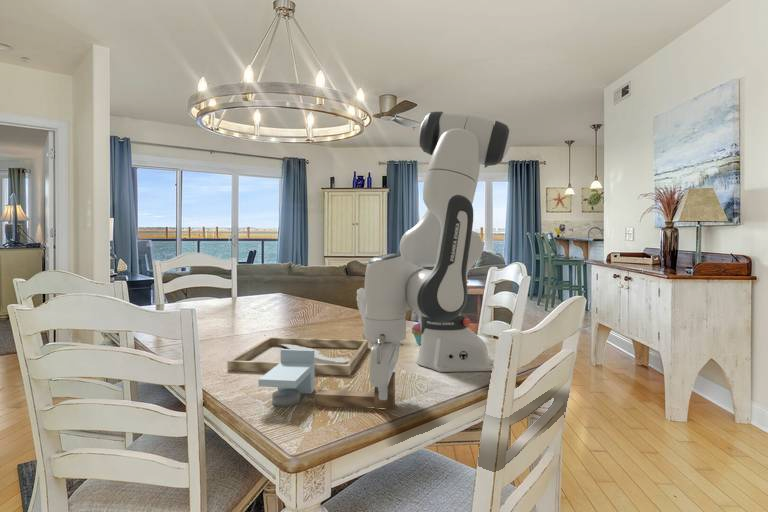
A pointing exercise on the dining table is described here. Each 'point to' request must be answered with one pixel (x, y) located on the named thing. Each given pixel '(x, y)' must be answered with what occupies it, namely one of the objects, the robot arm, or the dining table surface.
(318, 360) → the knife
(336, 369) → the wooden frame
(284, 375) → the shelf
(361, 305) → the shell sculpture
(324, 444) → the dining table surface
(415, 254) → the robot arm
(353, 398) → the brown l-shaped block
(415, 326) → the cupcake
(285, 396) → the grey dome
